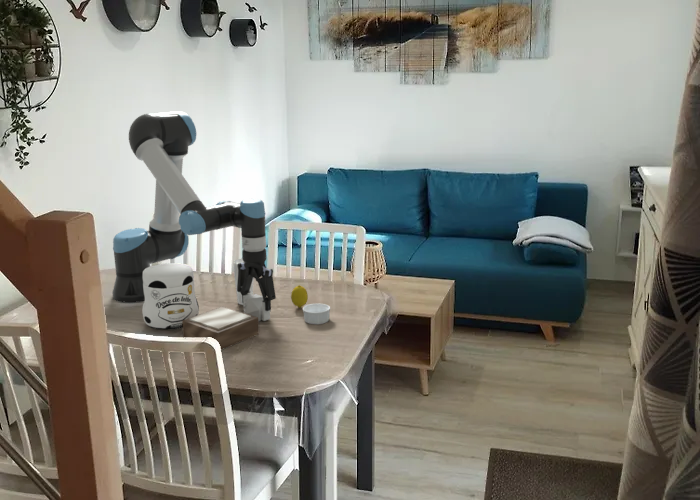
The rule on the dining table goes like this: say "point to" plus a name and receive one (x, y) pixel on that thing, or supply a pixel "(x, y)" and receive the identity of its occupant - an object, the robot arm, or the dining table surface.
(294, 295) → the lemon
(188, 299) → the milk container
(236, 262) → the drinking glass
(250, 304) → the die
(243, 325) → the plinth
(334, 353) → the dining table surface
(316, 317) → the ramekin
